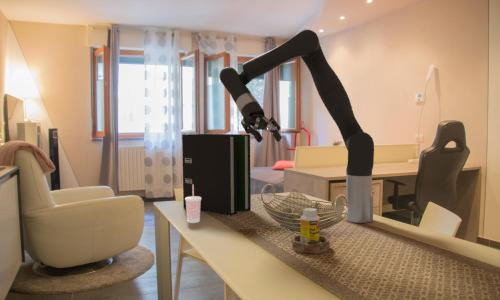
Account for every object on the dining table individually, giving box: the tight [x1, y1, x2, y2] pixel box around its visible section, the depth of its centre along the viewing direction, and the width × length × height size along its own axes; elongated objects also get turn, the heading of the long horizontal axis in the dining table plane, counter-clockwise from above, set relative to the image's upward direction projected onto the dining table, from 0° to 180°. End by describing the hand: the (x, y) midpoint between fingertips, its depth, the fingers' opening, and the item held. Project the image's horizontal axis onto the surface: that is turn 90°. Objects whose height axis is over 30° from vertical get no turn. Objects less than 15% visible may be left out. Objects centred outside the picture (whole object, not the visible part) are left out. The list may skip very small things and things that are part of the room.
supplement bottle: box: [299, 207, 321, 244], centre depth 114 cm, size 6×6×10 cm
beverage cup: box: [185, 184, 201, 224], centre depth 146 cm, size 6×6×14 cm
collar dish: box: [291, 233, 330, 255], centre depth 114 cm, size 11×11×3 cm
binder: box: [181, 133, 252, 217], centre depth 167 cm, size 27×15×32 cm, turn 51°
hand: (270, 140), depth 134 cm, fingers open, 8 cm apart
